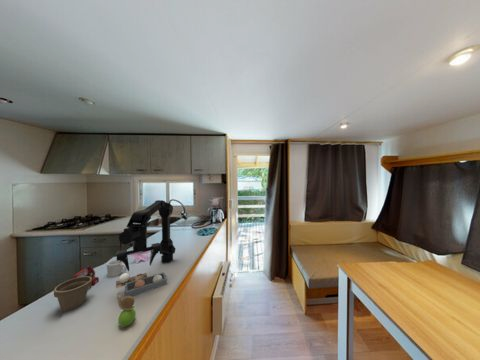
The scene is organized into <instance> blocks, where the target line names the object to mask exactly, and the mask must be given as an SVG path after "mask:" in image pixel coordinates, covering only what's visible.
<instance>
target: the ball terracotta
mask: <svg viewBox="0 0 480 360" xmlns="http://www.w3.org/2000/svg"><path fill="white" fill-rule="evenodd" d="M145 285H146V284H145V281H144V280H138V281H137V282H136V283H135V285H134V287H133V289H136V288H139V287H142V286H145Z"/></svg>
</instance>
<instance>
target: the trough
mask: <svg viewBox="0 0 480 360" xmlns="http://www.w3.org/2000/svg"><path fill="white" fill-rule="evenodd" d="M158 274H159V275H161V276H162V280H160V281H157V282H154V283H153V278H154V276H156V275H158ZM139 280H144V281H145V286H142V287H139V288H136V289H135V288H134V285H135V283H136V282H137V281H138V280H136V281H133V282H129V283H126V284H125V286H124V293H125V294H124V296H125V297H127V296H131V297H134V296H138V295H141V294H143V293H145V292H149V291H151V290H155V289H157V288H160V287H162V286H166V285H168V279H167V276H166V275H165V272H160V273H157V274H153V275H149V276H147V277H146V278H143V279H139ZM132 288H133V289H132ZM125 297H124V298H125Z"/></svg>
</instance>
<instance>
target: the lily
mask: <svg viewBox="0 0 480 360" xmlns="http://www.w3.org/2000/svg"><path fill="white" fill-rule="evenodd" d="M150 254H151V251H146V252H141V253H137V254H132V255H128V258H129V259H130V258H132V259H135V264H138V263H140V261H141V260H142V261H145V262H147V261H149V258H148V255H150Z"/></svg>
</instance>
